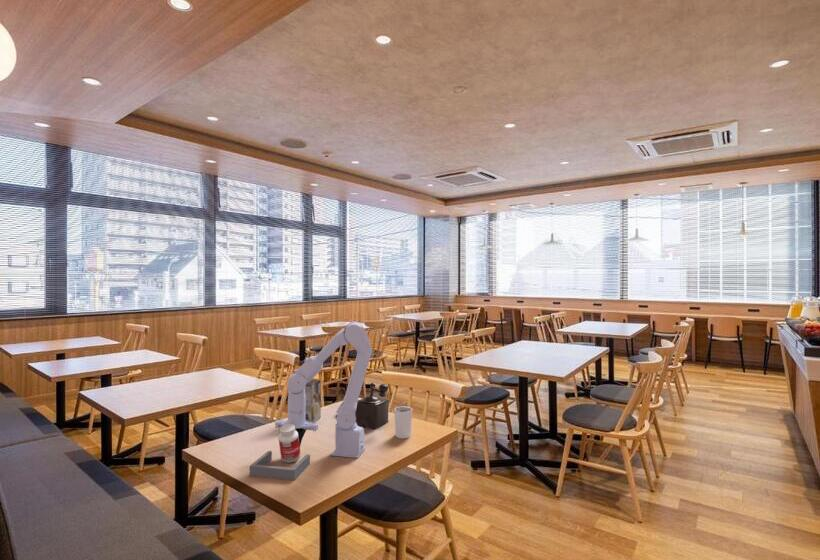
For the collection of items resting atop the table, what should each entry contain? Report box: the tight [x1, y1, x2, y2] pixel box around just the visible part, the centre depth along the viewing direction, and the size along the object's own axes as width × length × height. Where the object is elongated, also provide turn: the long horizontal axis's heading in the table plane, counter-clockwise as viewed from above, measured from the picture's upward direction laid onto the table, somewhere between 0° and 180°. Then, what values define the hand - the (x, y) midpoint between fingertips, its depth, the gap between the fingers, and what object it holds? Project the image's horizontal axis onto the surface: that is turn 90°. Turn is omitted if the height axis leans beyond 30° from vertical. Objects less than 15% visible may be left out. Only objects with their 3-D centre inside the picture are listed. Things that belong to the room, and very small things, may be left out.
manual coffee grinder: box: [355, 382, 390, 430], centre depth 176 cm, size 16×11×18 cm
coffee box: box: [305, 379, 322, 423], centre depth 180 cm, size 9×6×16 cm
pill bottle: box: [278, 424, 301, 464], centre depth 141 cm, size 6×6×11 cm
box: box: [249, 450, 311, 481], centre depth 136 cm, size 14×11×3 cm
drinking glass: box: [394, 405, 413, 439], centre depth 165 cm, size 7×7×10 cm
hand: (296, 450), depth 147 cm, fingers closed, pressing on pill bottle
